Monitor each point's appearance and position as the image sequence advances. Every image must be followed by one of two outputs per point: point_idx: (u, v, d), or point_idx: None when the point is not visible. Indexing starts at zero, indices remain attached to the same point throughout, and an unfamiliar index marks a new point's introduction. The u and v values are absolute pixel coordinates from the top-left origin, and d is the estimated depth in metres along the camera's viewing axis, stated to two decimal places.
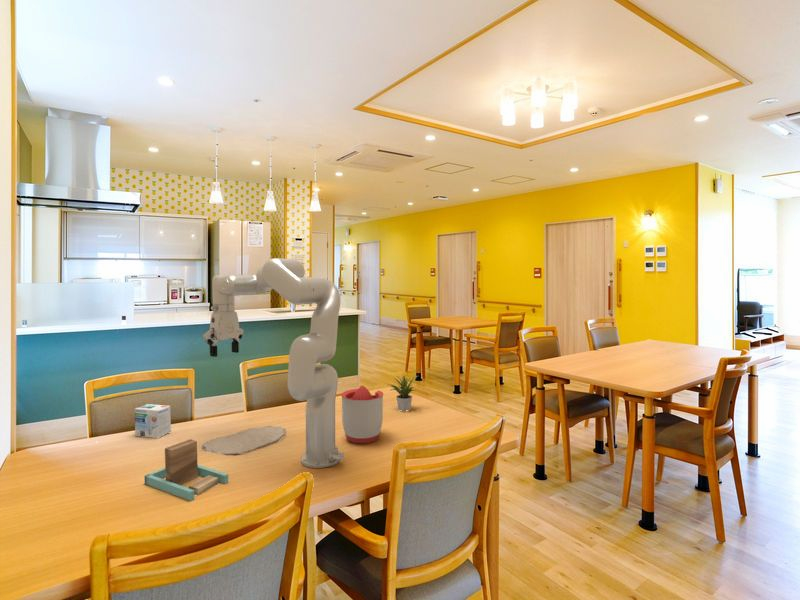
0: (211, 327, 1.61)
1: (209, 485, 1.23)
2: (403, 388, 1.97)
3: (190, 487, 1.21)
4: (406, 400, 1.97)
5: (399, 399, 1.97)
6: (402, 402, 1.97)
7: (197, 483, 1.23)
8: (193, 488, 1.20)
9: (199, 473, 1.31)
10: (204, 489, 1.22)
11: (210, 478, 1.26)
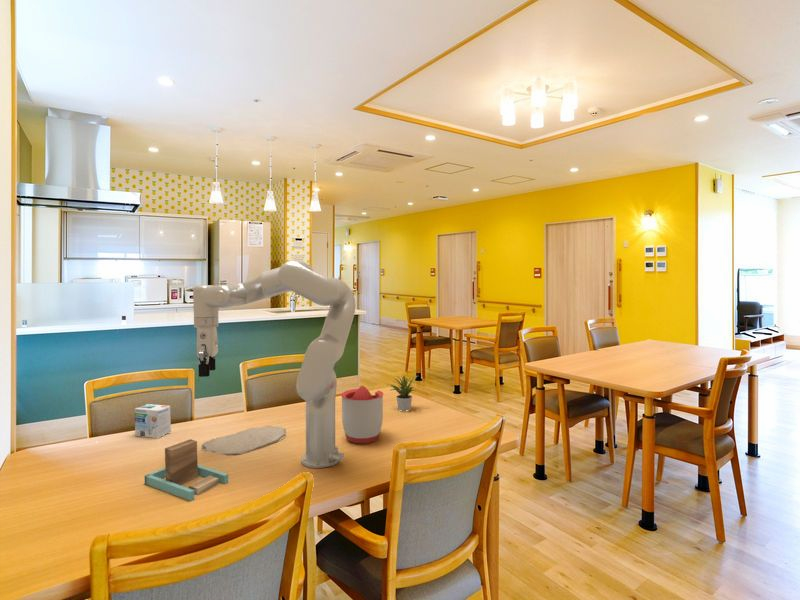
0: (201, 344, 1.42)
1: (209, 485, 1.23)
2: (403, 388, 1.97)
3: (190, 487, 1.21)
4: (406, 400, 1.97)
5: (399, 399, 1.97)
6: (402, 402, 1.97)
7: (197, 483, 1.23)
8: (193, 488, 1.20)
9: (199, 473, 1.31)
10: (204, 489, 1.21)
11: (211, 478, 1.26)
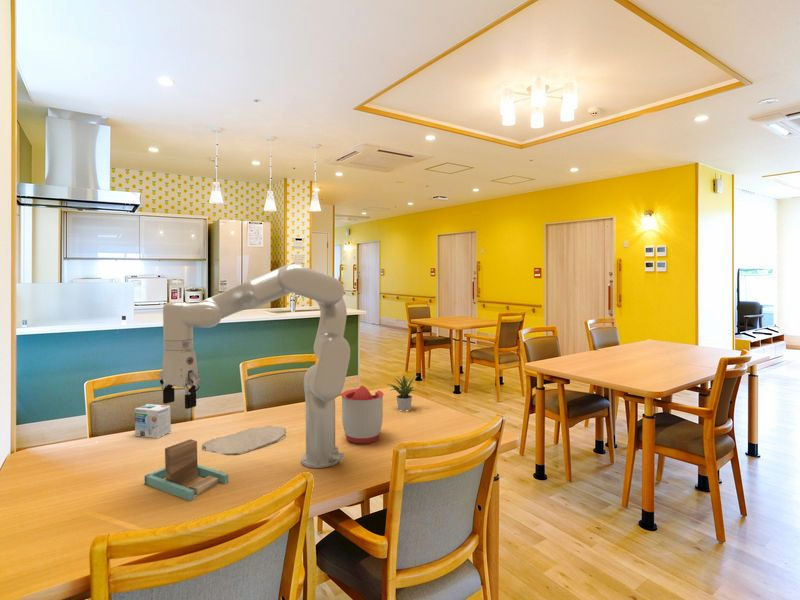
0: (187, 370, 1.23)
1: (209, 485, 1.23)
2: (403, 388, 1.97)
3: (190, 487, 1.21)
4: (406, 400, 1.97)
5: (399, 399, 1.97)
6: (402, 402, 1.97)
7: (197, 483, 1.22)
8: (193, 488, 1.20)
9: (199, 473, 1.31)
10: (204, 489, 1.21)
11: (210, 478, 1.26)
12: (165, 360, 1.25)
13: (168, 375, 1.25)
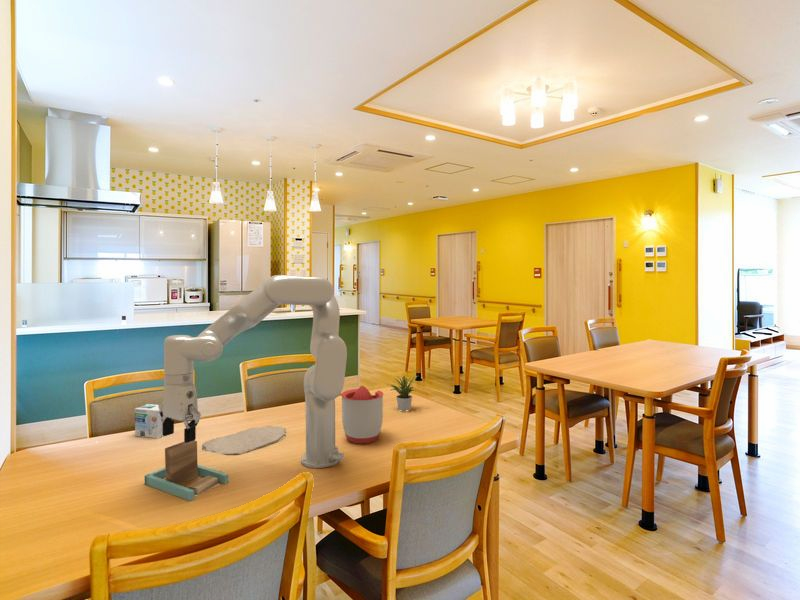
0: (187, 404, 1.23)
1: (209, 485, 1.23)
2: (403, 388, 1.97)
3: (189, 487, 1.21)
4: (406, 400, 1.97)
5: (399, 399, 1.97)
6: (402, 402, 1.97)
7: (197, 483, 1.22)
8: (192, 488, 1.20)
9: (199, 473, 1.31)
10: (203, 489, 1.21)
11: (210, 478, 1.26)
12: (165, 393, 1.25)
13: (168, 408, 1.25)
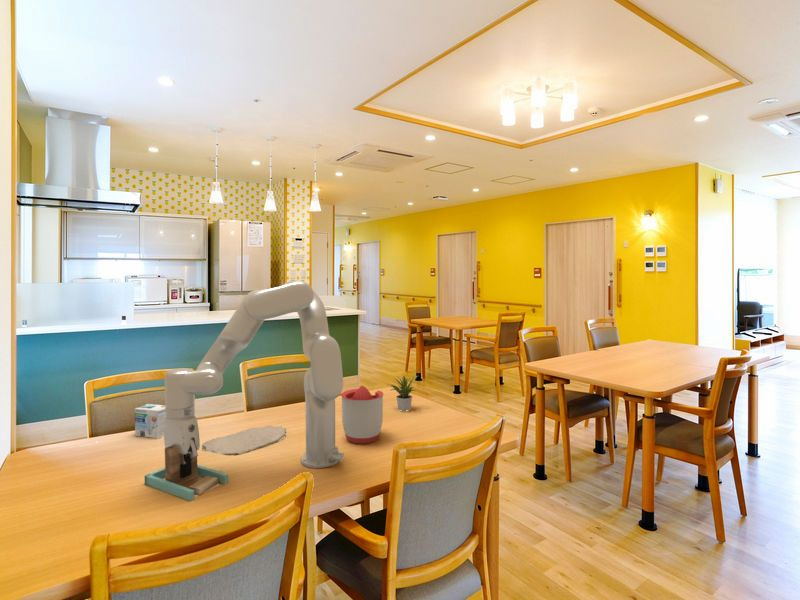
0: (189, 441, 1.24)
1: (209, 485, 1.23)
2: (403, 388, 1.97)
3: (191, 488, 1.20)
4: (406, 400, 1.97)
5: (399, 399, 1.97)
6: (402, 402, 1.97)
7: (197, 484, 1.22)
8: (194, 489, 1.20)
9: (199, 473, 1.31)
10: (205, 489, 1.22)
11: (209, 478, 1.26)
12: (167, 427, 1.26)
13: (170, 442, 1.26)
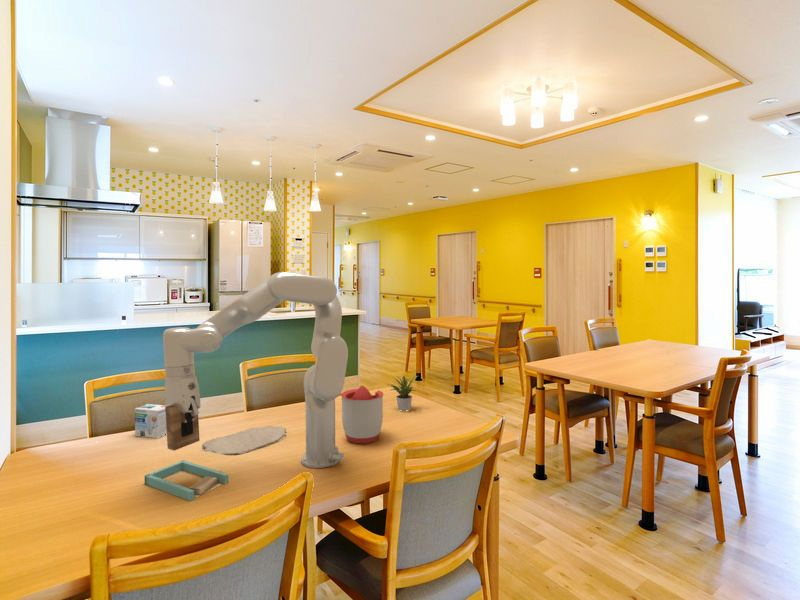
0: (190, 399, 1.24)
1: (210, 485, 1.23)
2: (403, 388, 1.97)
3: None
4: (406, 400, 1.97)
5: (399, 399, 1.97)
6: (402, 402, 1.97)
7: (197, 484, 1.22)
8: (195, 489, 1.20)
9: (199, 473, 1.31)
10: (206, 489, 1.21)
11: (209, 478, 1.25)
12: (167, 386, 1.25)
13: (171, 401, 1.25)
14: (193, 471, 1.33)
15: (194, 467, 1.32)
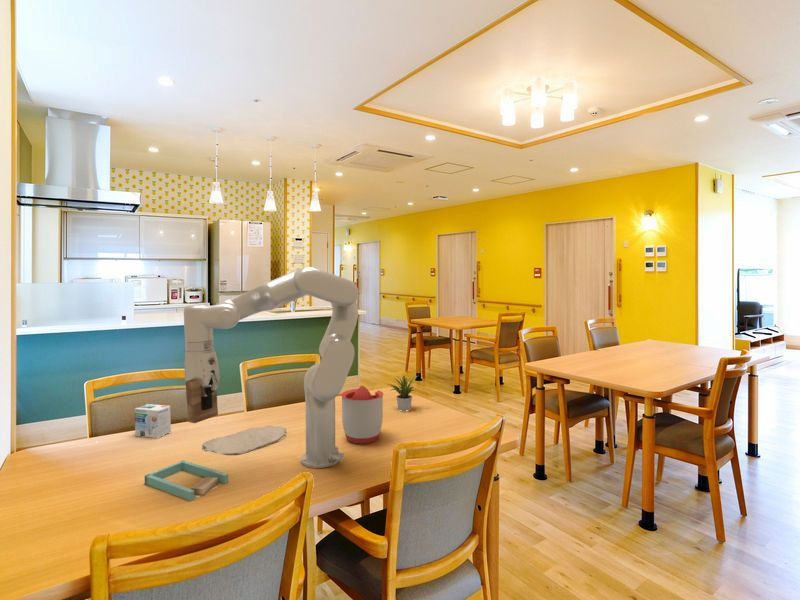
0: (210, 373, 1.27)
1: (211, 485, 1.23)
2: (403, 388, 1.97)
3: (193, 489, 1.20)
4: (406, 400, 1.97)
5: (399, 399, 1.97)
6: (402, 402, 1.97)
7: (199, 484, 1.22)
8: (197, 489, 1.20)
9: (199, 473, 1.31)
10: (207, 489, 1.21)
11: (209, 478, 1.26)
12: (187, 361, 1.29)
13: (191, 375, 1.29)
14: (193, 471, 1.33)
15: (194, 467, 1.32)
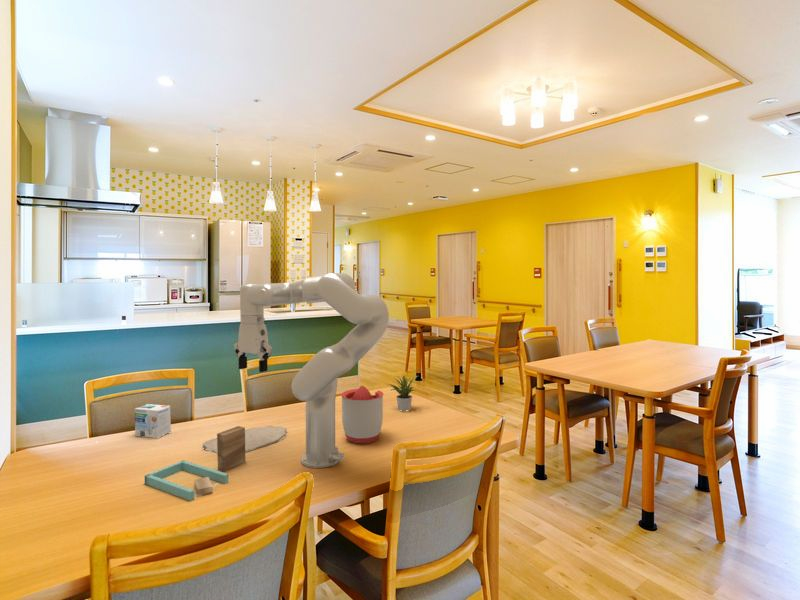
0: (261, 340, 1.48)
1: None
2: (403, 388, 1.97)
3: (200, 489, 1.19)
4: (406, 400, 1.97)
5: (399, 399, 1.97)
6: (402, 402, 1.97)
7: (201, 485, 1.21)
8: (205, 489, 1.20)
9: (199, 473, 1.31)
10: None
11: (202, 479, 1.25)
12: (241, 332, 1.50)
13: (244, 345, 1.49)
14: (193, 471, 1.33)
15: (194, 467, 1.32)
